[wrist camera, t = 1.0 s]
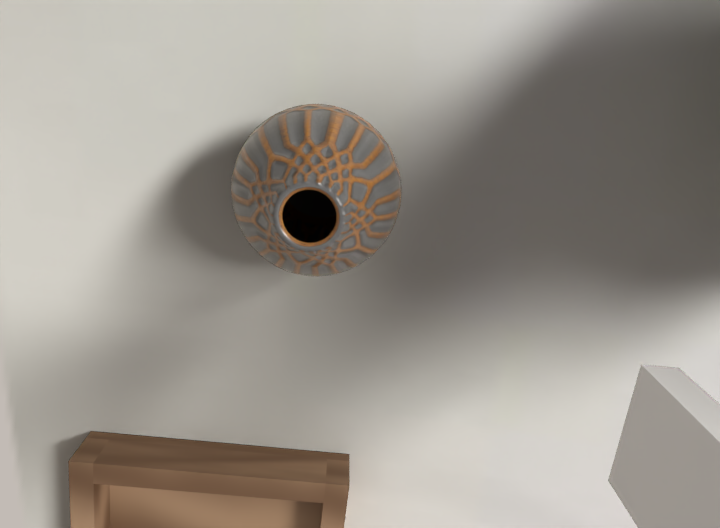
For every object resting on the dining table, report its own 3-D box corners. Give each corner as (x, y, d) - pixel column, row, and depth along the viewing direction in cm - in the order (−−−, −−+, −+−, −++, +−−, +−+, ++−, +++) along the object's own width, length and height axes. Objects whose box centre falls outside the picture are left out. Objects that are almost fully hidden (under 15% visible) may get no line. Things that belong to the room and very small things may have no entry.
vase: (236, 230, 28) (188, 291, 19) (263, 85, 26) (221, 84, 17) (374, 261, 28) (385, 333, 20) (410, 122, 26) (438, 137, 18)
